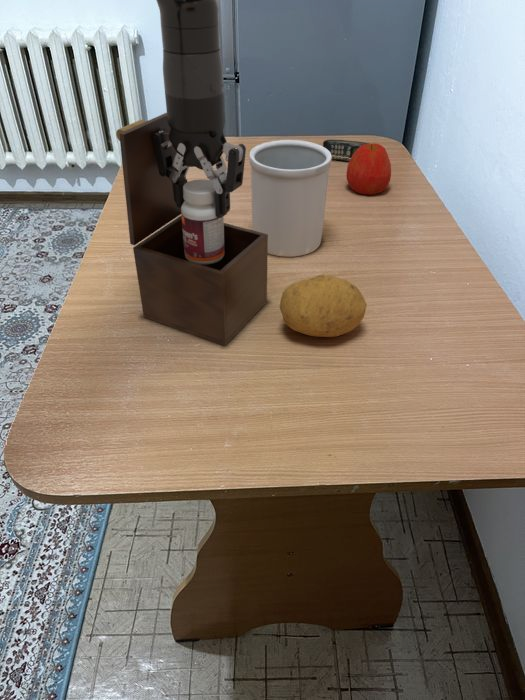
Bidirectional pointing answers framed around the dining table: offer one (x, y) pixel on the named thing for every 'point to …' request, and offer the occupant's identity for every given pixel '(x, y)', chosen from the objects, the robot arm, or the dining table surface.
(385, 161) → the apple
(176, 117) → the robot arm
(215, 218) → the pill bottle
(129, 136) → the lid
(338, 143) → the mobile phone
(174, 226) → the chest
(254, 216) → the utensil holder
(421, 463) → the dining table surface
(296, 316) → the potato
